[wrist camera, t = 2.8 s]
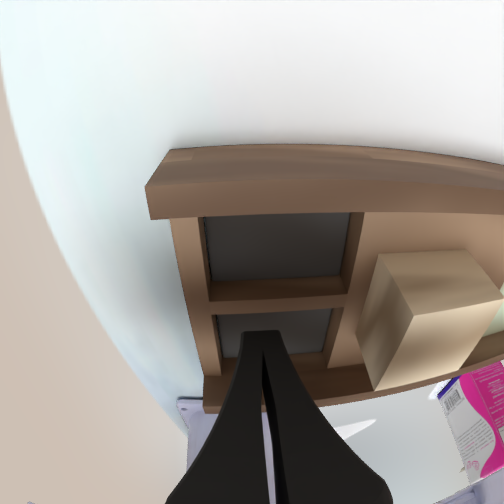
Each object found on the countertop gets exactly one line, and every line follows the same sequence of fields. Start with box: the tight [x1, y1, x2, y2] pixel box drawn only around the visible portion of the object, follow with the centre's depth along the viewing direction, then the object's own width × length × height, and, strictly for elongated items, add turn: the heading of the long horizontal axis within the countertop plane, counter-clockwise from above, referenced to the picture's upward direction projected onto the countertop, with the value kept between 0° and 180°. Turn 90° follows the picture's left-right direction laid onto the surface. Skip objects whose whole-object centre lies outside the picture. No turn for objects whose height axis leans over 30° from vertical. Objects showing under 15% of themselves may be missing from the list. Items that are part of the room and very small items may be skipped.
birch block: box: [355, 249, 504, 391], centre depth 12 cm, size 5×5×4 cm
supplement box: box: [437, 361, 504, 484], centre depth 19 cm, size 6×6×12 cm
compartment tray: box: [145, 144, 504, 414], centre depth 13 cm, size 13×26×4 cm, turn 91°
